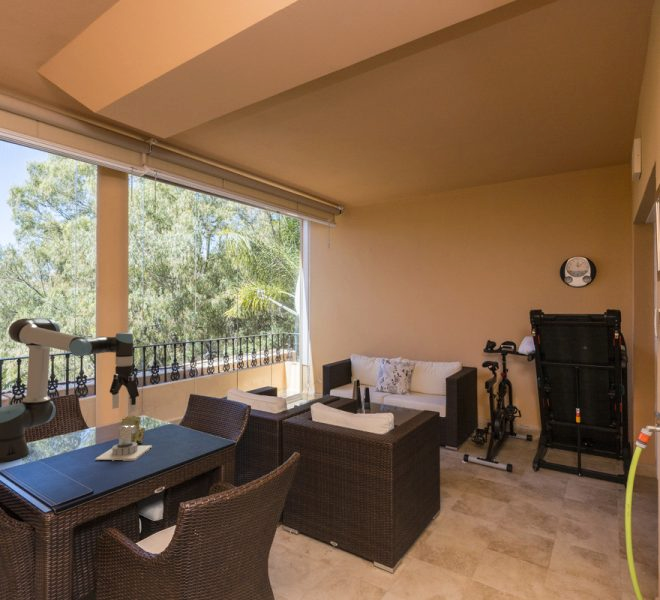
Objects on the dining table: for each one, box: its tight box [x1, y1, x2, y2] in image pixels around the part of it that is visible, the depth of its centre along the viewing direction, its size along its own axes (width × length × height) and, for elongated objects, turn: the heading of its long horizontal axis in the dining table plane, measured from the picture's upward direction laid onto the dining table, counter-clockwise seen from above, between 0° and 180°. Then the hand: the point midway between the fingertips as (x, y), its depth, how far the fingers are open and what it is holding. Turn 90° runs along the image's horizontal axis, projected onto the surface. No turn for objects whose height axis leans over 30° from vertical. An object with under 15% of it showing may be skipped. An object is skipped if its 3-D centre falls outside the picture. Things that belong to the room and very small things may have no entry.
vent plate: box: [94, 442, 153, 462], centre depth 195 cm, size 18×18×4 cm
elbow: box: [118, 425, 137, 448], centre depth 196 cm, size 8×5×12 cm, turn 150°
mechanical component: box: [120, 415, 146, 444], centre depth 210 cm, size 8×17×20 cm, turn 175°
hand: (123, 409), depth 196 cm, fingers open, 13 cm apart
